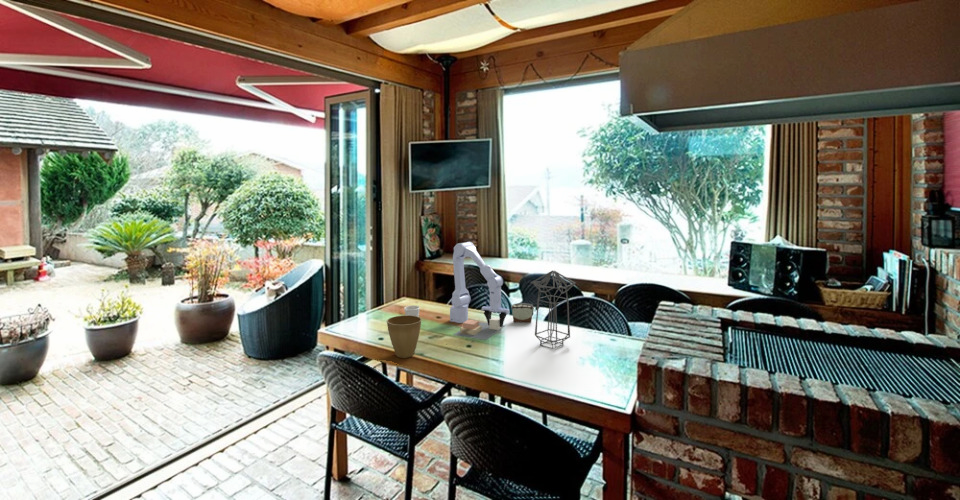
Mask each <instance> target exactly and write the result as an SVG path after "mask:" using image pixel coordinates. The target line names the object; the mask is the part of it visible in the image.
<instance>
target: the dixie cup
mask: <svg viewBox="0 0 960 500" xmlns="http://www.w3.org/2000/svg"><path fill="white" fill-rule="evenodd" d="M420 309H421V307H420V306H419V305H407V306H405V307H404V308H403V310H404V314H405V315H411V316H417V317H420Z"/></svg>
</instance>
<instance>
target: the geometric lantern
mask: <svg viewBox="0 0 960 500" xmlns="http://www.w3.org/2000/svg"><path fill="white" fill-rule="evenodd" d="M565 279H566V280H567V281H566V280H565ZM550 280H553V281H552V283H553V284H552V285H553V286H547V285H548V284H549V282H550ZM555 283H556V287H555ZM530 284H532V285H534V287H535V288H536V289H538V295H537V299H536V300H537V301H536V302H537V303H536V318H535V319H536V320H535V328H534V329H535V330H534V337H536V338H537V339H538V341H540V344H539V345H540V346H541V347H544V348H548V349H552V350H554V349H558V348H560V347H562V346H564V342H565V341H567V340H568V339H570V338H571V328H570V308H569V307H570V306H569V305H570V303H569V302H570V300H569V297H568V291H569V290H571V288H572V287H574V286H575V285H576V281H573V280H572V279H570V278H568V277H566V276H565V275H563V274H561V273H560V272H558V271H556V270H551V271H549V272H547V273H545V274H543V275H542V276H540V277H537V278H536V279H534V280H532V281H531V282H530ZM567 284H568V285H567ZM563 285H564V286H563ZM541 289H543V290H541ZM545 289H546V290H545ZM553 289H556V291H555V292H554V294H553V295H552V294H551V293H550V291H551V290H553ZM563 289H564V290H563ZM558 291H559V292H560V295H556V294H557V293H558ZM542 293H544V294H545V296H542V297H541V294H542ZM547 293H549V295H548V294H547ZM562 294H565V296H566V297H563V296H561V295H562ZM552 297H553V302H552ZM544 298H547V299H548V301H544V300H541V299H544ZM556 298H557V299H556ZM559 298H560V299H564V300H562V301H559ZM557 301H559V302H557ZM540 302H544V303H547V304H549V306H548V319H547V329H545V330H543V331H539V332H538V318H539V316H538V315H539V308H540ZM564 302H566V307H567V308H566V309H567V333H566V332H562V331H559V330H558V318H557V304H561V303H564ZM552 325H553V326H552ZM552 327H553V328H552ZM549 331H550V332H549ZM545 332H547V335H548V336H547V337H542V336H539V335H538V334H541V333H545ZM554 332H555V337H554V336H553V334H554ZM558 333H560V334H564V335H565V337H563V338H559V337H558ZM552 339H554V340H552ZM544 340H545V341H544ZM543 344H548V345H551V346H552V347H549V346H547V345H543ZM557 344H560V345H558V346H556V345H557Z"/></svg>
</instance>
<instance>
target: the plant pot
mask: <svg viewBox="0 0 960 500" xmlns="http://www.w3.org/2000/svg"><path fill="white" fill-rule="evenodd" d="M421 325H422V318H421V317H420V316H419V317H417V316H411V315H396V316H392V317H390V318H388V319H386V327H387V331H388V334H389V339H390V341H391V346H392V348H393V351H394V353H395V355H396V357H397V358H401V359H408V358H411V357H413V356H414V355H415V351H416V349H417V347H418V346H417V345H418V341H419V338H420V332H421Z"/></svg>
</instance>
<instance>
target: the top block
mask: <svg viewBox="0 0 960 500" xmlns="http://www.w3.org/2000/svg"><path fill="white" fill-rule="evenodd" d="M500 328H501V327H500V317H496V316H495V317H491V319H490V329H493V330H499V329H500ZM500 330H501V329H500ZM500 330H499V331H500Z"/></svg>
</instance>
